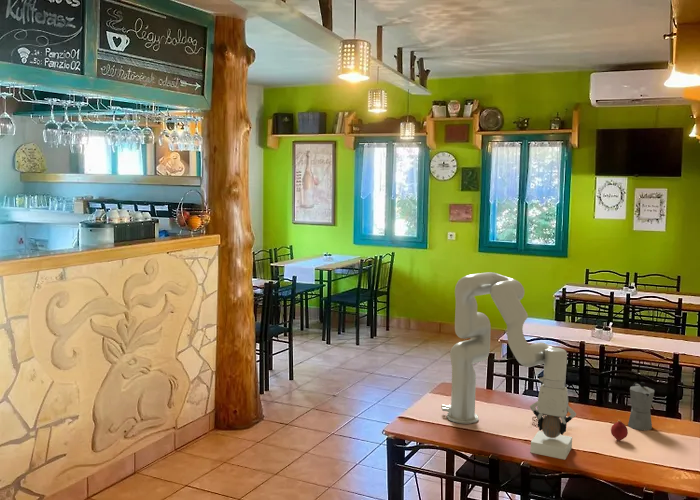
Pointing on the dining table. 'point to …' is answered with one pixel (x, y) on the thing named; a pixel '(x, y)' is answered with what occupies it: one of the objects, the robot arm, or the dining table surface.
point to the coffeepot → (640, 407)
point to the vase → (551, 426)
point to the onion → (619, 430)
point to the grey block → (551, 445)
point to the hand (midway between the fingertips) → (551, 430)
